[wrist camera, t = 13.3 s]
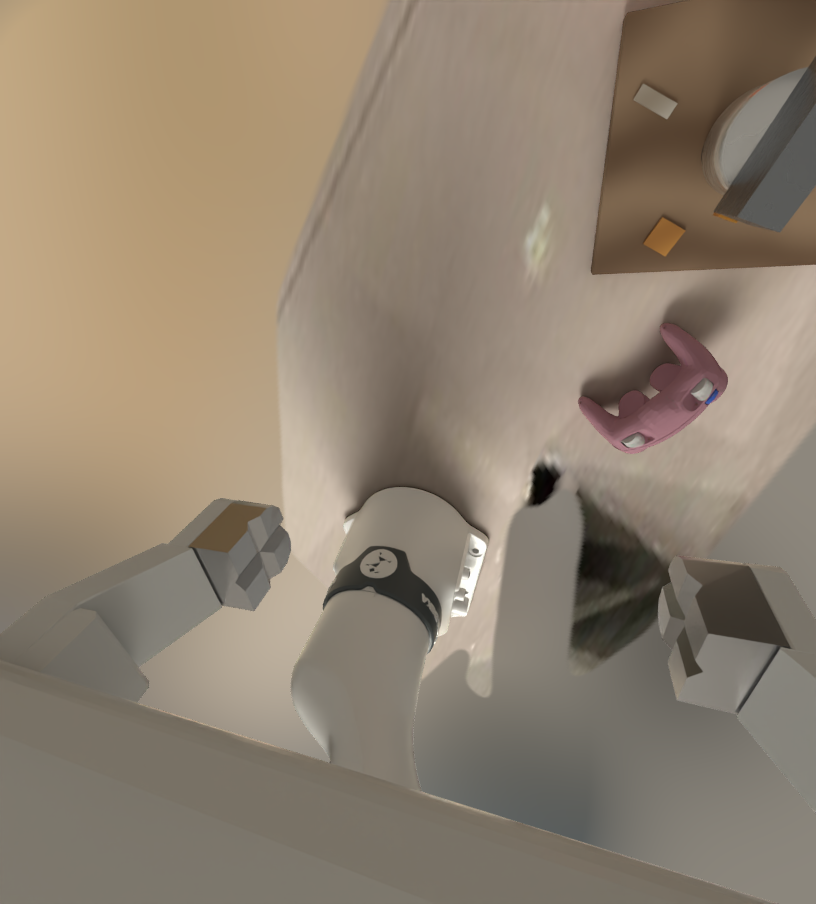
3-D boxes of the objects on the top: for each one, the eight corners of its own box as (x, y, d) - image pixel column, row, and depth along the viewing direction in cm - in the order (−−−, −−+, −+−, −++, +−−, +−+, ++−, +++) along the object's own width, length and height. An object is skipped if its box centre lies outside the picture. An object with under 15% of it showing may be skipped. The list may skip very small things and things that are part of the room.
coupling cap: (763, 40, 20) (845, -13, 15) (862, 74, 20) (985, 34, 15) (668, 200, 25) (703, 207, 19) (749, 230, 24) (810, 247, 19)
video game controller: (601, 416, 40) (636, 472, 35) (569, 400, 38) (602, 457, 33) (697, 336, 34) (754, 391, 29) (666, 312, 32) (722, 366, 27)
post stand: (812, 260, 28) (855, 274, 24) (590, 271, 32) (596, 284, 28) (928, -41, 21) (1018, -93, 17) (623, 20, 25) (637, -10, 21)
